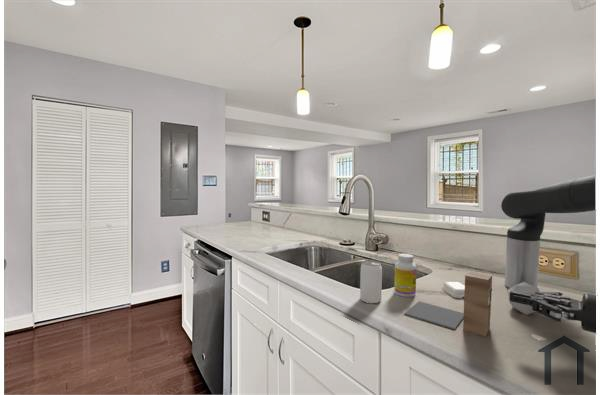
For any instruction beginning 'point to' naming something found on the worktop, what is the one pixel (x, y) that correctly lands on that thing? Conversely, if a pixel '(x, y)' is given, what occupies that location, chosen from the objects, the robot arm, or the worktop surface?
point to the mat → (435, 315)
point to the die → (522, 288)
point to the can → (371, 281)
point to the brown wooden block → (477, 302)
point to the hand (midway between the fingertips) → (510, 295)
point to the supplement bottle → (405, 276)
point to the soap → (454, 289)
